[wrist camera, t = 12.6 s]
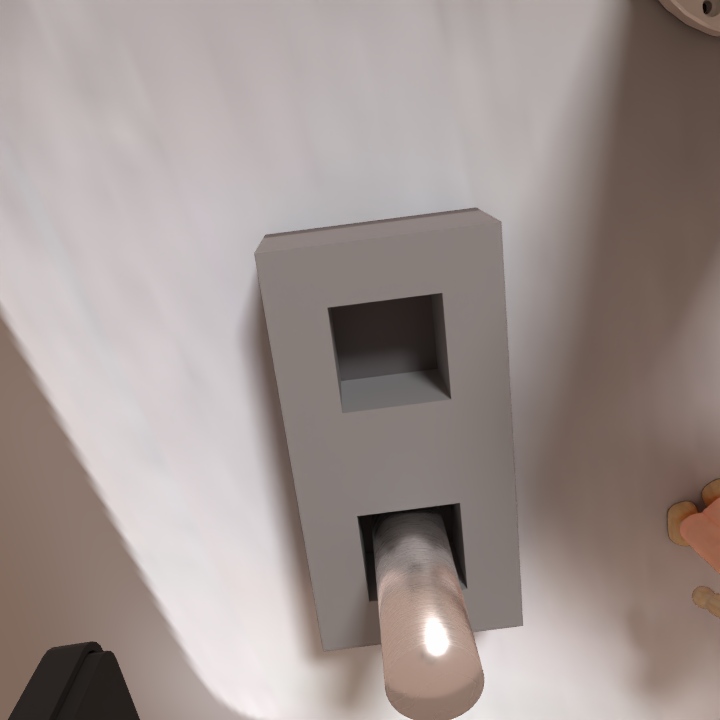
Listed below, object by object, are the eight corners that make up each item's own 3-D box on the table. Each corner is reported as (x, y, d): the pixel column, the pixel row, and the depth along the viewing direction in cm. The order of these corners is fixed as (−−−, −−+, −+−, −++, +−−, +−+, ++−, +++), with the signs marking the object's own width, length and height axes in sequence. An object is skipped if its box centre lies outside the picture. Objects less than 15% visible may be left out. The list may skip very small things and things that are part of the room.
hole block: (476, 207, 32) (501, 221, 27) (499, 564, 39) (523, 625, 34) (265, 234, 32) (254, 253, 27) (324, 587, 39) (323, 651, 34)
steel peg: (435, 473, 35) (480, 637, 24) (441, 533, 37) (487, 716, 25) (366, 482, 36) (379, 650, 24) (374, 541, 37) (390, 727, 25)
